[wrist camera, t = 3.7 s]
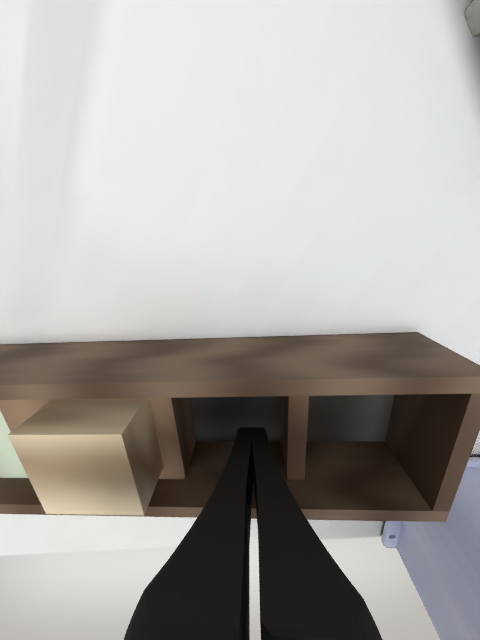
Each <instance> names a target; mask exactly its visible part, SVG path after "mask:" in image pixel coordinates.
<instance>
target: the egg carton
mask: <svg viewBox="0 0 480 640" xmlns="http://www.w3.org/2000/svg"><path fill="white" fill-rule="evenodd" d="M464 15H465V18H466V21H467V24H468V26H469V29H470V31H471V33H472V35H473V36H477V35H480V0H473V1H472V2H471V4H470V5H469V6H468V7H467V9H466V10H465V12H464Z"/></svg>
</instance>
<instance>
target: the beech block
mask: <svg viewBox="0 0 480 640" xmlns="http://www.w3.org/2000/svg"><path fill="white" fill-rule="evenodd" d="M8 437H9V439H10V441H11V443H12V445H13V447H14V449H15V451H16V453H17V455H18V458H19V460H20V462H21V464H22V466H23V468H24V470H25V472H26V474H27V476H28V478H29V480H30V482H31V484H32V486H33V488H34V490H35V492H36V494H37V496H38V498H39V500H40V502H41V504H42V507H43V509H44V511H45V513H46V514H80V515H134V516H144V515H145V512H146V510H147V507H148V505H149V502H150V500H151V497H152V495H153V492H154V489H155V487H156V484H157V482H158V479H159V477H160V474H161V472H162V469H163V463H162V458H161V454H160V449H159V445H158V440H157V436H156V431H155V426H154V422H153V417H152V413H151V408H150V403H149V399H148V398H112V399H52V400H51V401H50V402H49V403H47V404H46V405H45V406H44V407H42V408H41V409H40V410H38V411H37V412H36V413H35V414H33V415H32V416H31V417H30V418H28V419H27V420H26V421H24V422H23V423H22V424H21V425H19V426H18V427H17V428H16V429H14V430H13V431H12V432H10V433H9V434H8Z"/></svg>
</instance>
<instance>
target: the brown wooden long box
mask: <svg viewBox="0 0 480 640" xmlns="http://www.w3.org/2000/svg"><path fill="white" fill-rule="evenodd" d="M112 398H148V399H149V403H150V408H151V413H152V417H153V422H154V426H155V431H156V436H157V440H158V445H159V449H160V454H161V458H162V463H163V469H162V472H161V474H160V477H159V479H158V482H157V484H156V487H155V489H154V492H153V495H152V497H151V500H150V502H149V505H148V507H147V510H146V512H145V515H144V516H149V517H198V516H199V514H200V513H201V511H202V509H203V508H204V506H205V504H206V503H207V501H208V499H209V497H210V496H211V494H212V492H213V490H214V488H215V486H216V484H217V482H218V480H219V478H220V476H221V474H222V472H223V470H224V468H225V465H226V463H227V460H228V458H229V455H230V453H231V450H232V448H233V445H234V442H235V439H236V435H237V430H238V428H240V427H264V428H265V429H266V433H267V437H268V440H269V444H270V446H271V449H272V452H273V455H274V457H275V460H276V462H277V464H278V467H279V469H280V471H281V473H282V475H283V477H284V479H285V481H286V483H287V486H288V487H289V489H290V491H291V493H292V495H293V497H294V499H295V500H296V502H297V504H298V506H299V507H300V509H301V511H302V513H303V514H304V516H305V518H306V519H309V520H362V521H416V522H446V520H447V517H448V515H449V512H450V509H451V506H452V504H453V501H454V498H455V495H456V493H457V490H458V487H459V485H460V482H461V479H462V476H463V474H464V471H465V468H466V466H467V463H468V460H469V457H470V455H471V452H472V449H473V446H474V444H475V441H476V438H477V436H478V433H479V430H480V365H478V364H476V363H474V362H472V361H471V360H469V359H467V358H465V357H463V356H461V355H459V354H457V353H455V352H454V351H452V350H450V349H448V348H446V347H444V346H442V345H440V344H439V343H437V342H435V341H433V340H431V339H429V338H427V337H425V336H424V335H422V334H420V333H418V332H414V333H380V334H346V335H312V336H278V337H244V338H210V339H176V340H142V341H108V342H74V343H40V344H6V345H0V514H42V515H80V514H46V513H45V511H44V509H43V507H42V504H41V502H40V500H39V498H38V496H37V494H36V492H35V490H34V488H33V486H32V484H31V482H30V480H29V478H28V476H27V474H26V472H25V470H24V468H23V466H22V464H21V462H20V460H19V458H18V455H17V453H16V451H15V449H14V447H13V445H12V443H11V441H10V439H9V437H8V434H9V433H10V432H12V431H13V430H14V429H16V428H17V427H18V426H19V425H21V424H22V423H23V422H24V421H26V420H27V419H28V418H30V417H31V416H32V415H33V414H35V413H36V412H37V411H38V410H40V409H41V408H42V407H44V406H45V405H46V404H47V403H49V402H50V401H51V400H52V399H112ZM96 516H134V515H96ZM251 518H256V519H257V513H256V503H255V492H254V482H253V494H252V509H251Z"/></svg>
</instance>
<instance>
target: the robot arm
mask: <svg viewBox="0 0 480 640" xmlns="http://www.w3.org/2000/svg"><path fill="white" fill-rule="evenodd" d="M253 482H254V492H255V503H256V513H257V524H258V540H259V580H260V581H259V583H260V623H261V640H382V638H381V635H380V633H379V630H378V628H377V626H376V624H375V622H374V620H373V617H372V615H371V613H370V612H369V609H368V608H367V605H366V603H365V601H364V599H363V598H362V596H361V595H360V594H359V593H358V591H357V590H356V589H355V587H354V586H353V585H352V584H351V582H350V581H349V580H348V578H347V577H346V576H345V574H344V573H343V572H342V570H341V569H340V568H339V566H338V565H337V564H336V562H335V561H334V559H333V558H332V557H331V555H330V554H329V552H328V551H327V550H326V548H325V547H324V545H323V544H322V542H321V541H320V539H319V538H318V536H317V535H316V533H315V532H314V530H313V529H312V527H311V526H310V524H309V522H308V521H307V519H306V518H305V516H304V514H303V513H302V511H301V509H300V507H299V506H298V504H297V502H296V500H295V499H294V497H293V495H292V493H291V491H290V489H289V487H288V486H287V483H286V481H285V479H284V477H283V475H282V473H281V471H280V469H279V467H278V464H277V462H276V460H275V457H274V455H273V452H272V449H271V446H270V444H269V440H268V437H267V433H266V429H265V428H264V427H240V428H238V430H237V435H236V439H235V442H234V445H233V448H232V450H231V453H230V455H229V458H228V460H227V463H226V465H225V468H224V470H223V472H222V474H221V476H220V478H219V480H218V482H217V484H216V486H215V488H214V490H213V492H212V494H211V496H210V497H209V499H208V501H207V503H206V504H205V506H204V508H203V509H202V511H201V513H200V514H199V516H198V518H197V519H196V521H195V522H194V524H193V525H192V527H191V529H190V530H189V531H188V533H187V534H186V536H185V537H184V539H183V540H182V541H181V543H180V544H179V546H178V547H177V548H176V550H175V551H174V553H173V554H172V555H171V557H170V558H169V560H168V561H167V562H166V563H165V565H164V566H163V567H162V568H161V570H160V571H159V572H158V574H157V575H156V576H155V577H154V578H153V580H152V581H151V582H150V583H149V585H148V586H147V587H146V589H145V590H144V592H143V594H142V596H141V598H140V600H139V602H138V604H137V607H136V609H135V611H134V614H133V616H132V618H131V621H130V624H129V626H128V629H127V631H126V634H125V638H124V640H249V541H250V524H251V509H252V494H253ZM382 543H383V545H384V546H385V547H387V548H397V550H398V552H399V554H400V556H401V558H402V560H403V562H404V564H405V566H406V568H407V570H408V573H409V575H410V577H411V579H412V581H413V583H414V585H415V587H416V589H417V591H418V593H419V595H420V598H421V600H422V602H423V604H424V606H425V608H426V610H427V612H428V615H429V617H430V619H431V621H432V623H433V625H434V627H435V629H436V631H437V633H438V635H439V638H440V639H441V640H480V457H469V460H468V463H467V466H466V468H465V471H464V474H463V476H462V479H461V482H460V485H459V487H458V490H457V493H456V495H455V498H454V501H453V504H452V506H451V509H450V512H449V515H448V517H447V520H446V522H416V521H386V522H385V526H384V530H383V535H382Z"/></svg>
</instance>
